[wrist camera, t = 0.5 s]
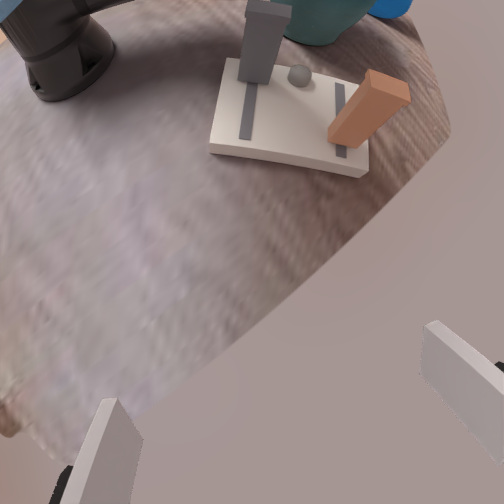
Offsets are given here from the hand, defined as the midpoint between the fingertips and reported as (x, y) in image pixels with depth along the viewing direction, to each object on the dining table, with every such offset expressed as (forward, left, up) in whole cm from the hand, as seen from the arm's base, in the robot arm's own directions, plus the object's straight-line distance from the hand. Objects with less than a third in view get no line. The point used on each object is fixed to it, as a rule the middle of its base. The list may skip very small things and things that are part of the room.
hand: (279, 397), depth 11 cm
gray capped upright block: (-29, +9, -20) cm, 37 cm away
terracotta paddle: (-18, +18, -20) cm, 33 cm away
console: (-24, +13, -24) cm, 36 cm away
